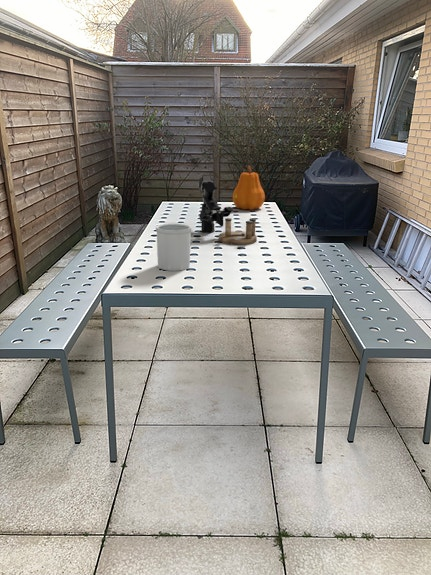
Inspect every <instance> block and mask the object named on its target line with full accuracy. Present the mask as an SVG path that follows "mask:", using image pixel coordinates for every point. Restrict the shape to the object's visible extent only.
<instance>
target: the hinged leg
mask: <svg viewBox="0 0 431 575" xmlns="http://www.w3.org/2000/svg"><path fill="white" fill-rule="evenodd" d="M232 219H233V218H231V217H230V218H229V217H227V218H226V217H224V222H225V224H224V226H225V230H224V232H225V236H245V233H241V234H231V231H232Z"/></svg>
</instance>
